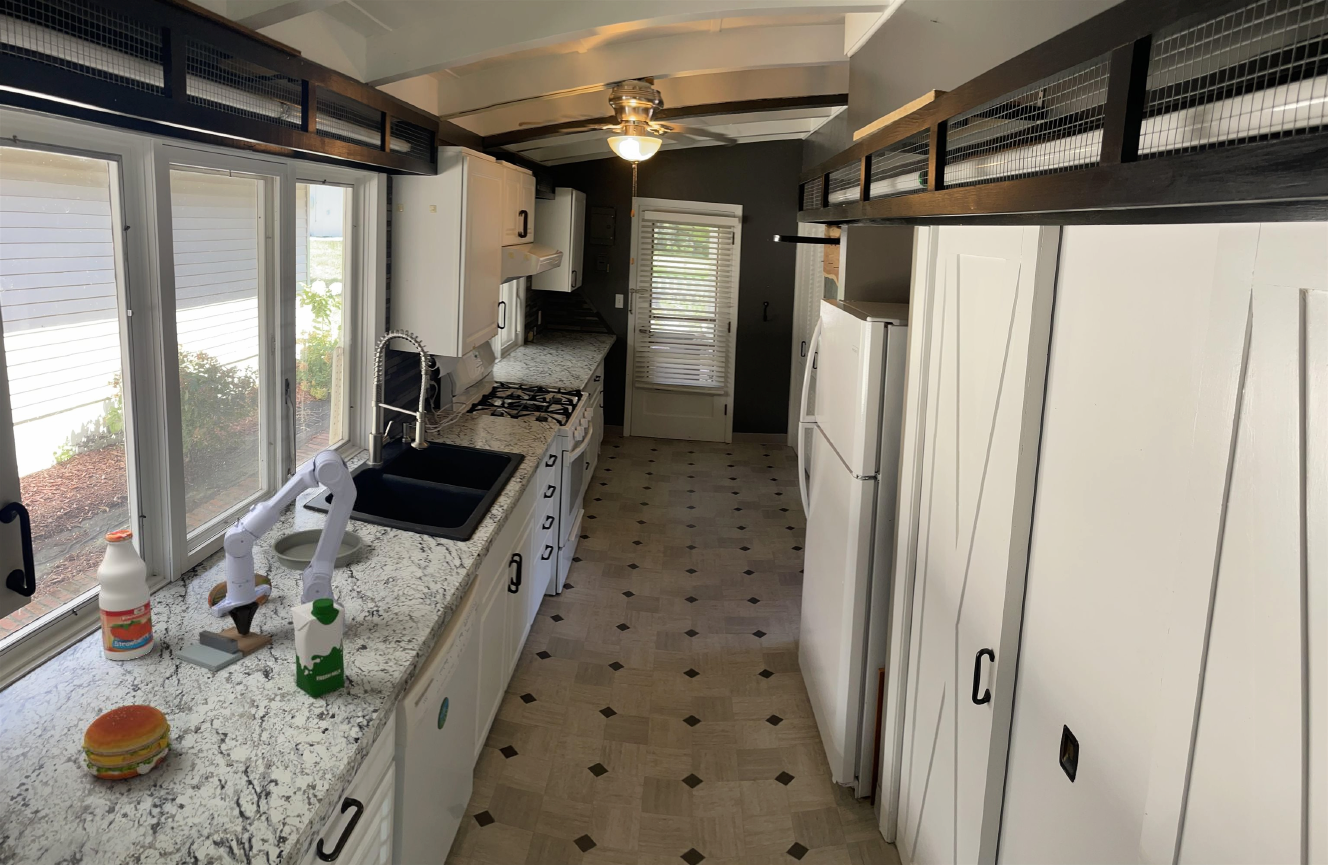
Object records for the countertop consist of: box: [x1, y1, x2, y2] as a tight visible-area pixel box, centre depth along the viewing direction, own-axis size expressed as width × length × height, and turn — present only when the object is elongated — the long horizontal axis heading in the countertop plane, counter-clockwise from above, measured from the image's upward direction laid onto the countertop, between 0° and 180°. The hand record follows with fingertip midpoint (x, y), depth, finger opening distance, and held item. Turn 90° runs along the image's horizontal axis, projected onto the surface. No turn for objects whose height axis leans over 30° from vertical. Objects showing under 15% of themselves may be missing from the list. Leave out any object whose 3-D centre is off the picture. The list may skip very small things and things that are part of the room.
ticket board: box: [218, 626, 273, 658], centre depth 195 cm, size 12×8×1 cm, turn 68°
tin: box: [207, 572, 273, 617], centre depth 211 cm, size 15×3×8 cm, turn 143°
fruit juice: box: [96, 529, 154, 660], centre depth 185 cm, size 9×9×28 cm
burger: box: [81, 704, 173, 780], centre depth 151 cm, size 13×14×10 cm
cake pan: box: [271, 528, 364, 572], centre depth 246 cm, size 25×25×4 cm
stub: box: [174, 629, 244, 672], centre depth 188 cm, size 12×7×4 cm, turn 68°
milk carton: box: [290, 598, 345, 699], centre depth 178 cm, size 9×9×20 cm
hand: (243, 633), depth 196 cm, fingers closed
